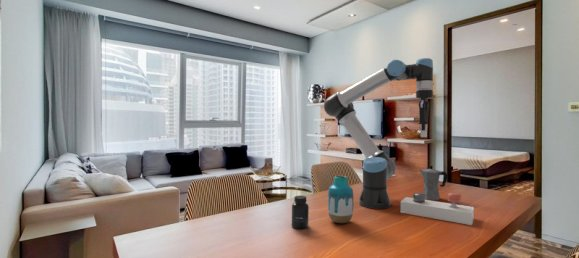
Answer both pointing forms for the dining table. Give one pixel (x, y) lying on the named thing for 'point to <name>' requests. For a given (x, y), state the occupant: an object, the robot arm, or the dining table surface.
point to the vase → (340, 200)
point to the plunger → (419, 197)
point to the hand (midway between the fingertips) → (423, 137)
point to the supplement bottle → (300, 213)
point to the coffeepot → (432, 183)
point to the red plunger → (454, 199)
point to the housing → (438, 210)
